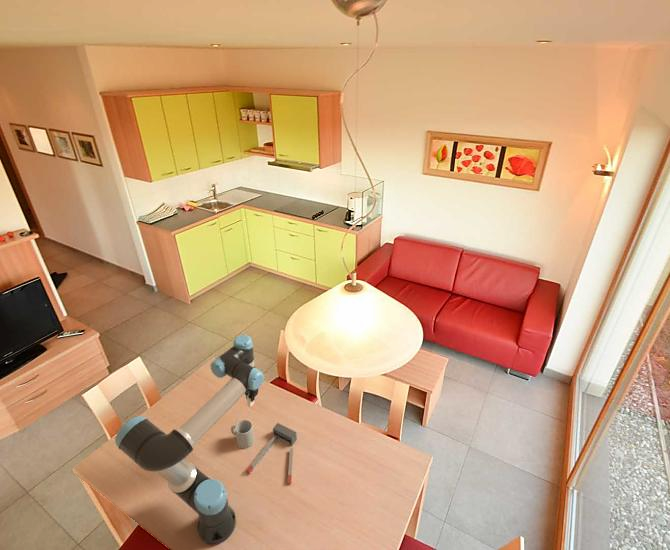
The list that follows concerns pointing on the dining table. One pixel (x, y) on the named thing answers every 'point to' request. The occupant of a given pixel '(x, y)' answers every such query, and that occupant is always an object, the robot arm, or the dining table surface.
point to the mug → (243, 433)
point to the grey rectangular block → (285, 432)
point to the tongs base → (266, 449)
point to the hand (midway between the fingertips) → (251, 404)
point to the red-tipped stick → (290, 466)
